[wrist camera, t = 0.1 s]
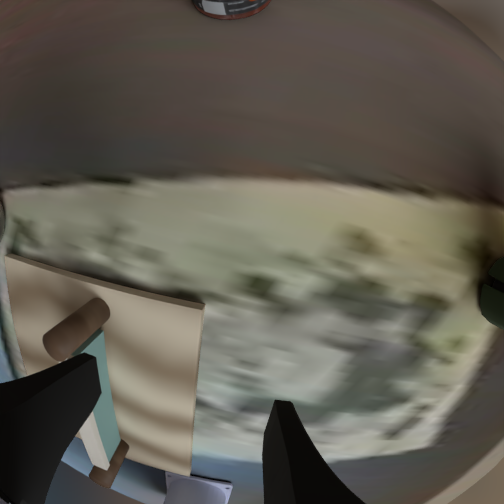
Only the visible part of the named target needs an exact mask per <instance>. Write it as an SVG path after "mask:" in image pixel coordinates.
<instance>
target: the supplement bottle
mask: <svg viewBox="0 0 504 504" xmlns="http://www.w3.org/2000/svg"><path fill="white" fill-rule="evenodd" d="M192 1H193V3H194V5H195V6H196V8H197V9H198V10H199V11H200V12H201V13H203V14H205V15H207V16H209V17H212V18H216V19H224V20H232V19H240V18H245V17H249V16H252V15H254V14H256V13H259V12H260V11H261V10H263V9H264V8H265V7H266V6H267V5H268V4H269V3H270V1H271V0H192Z"/></svg>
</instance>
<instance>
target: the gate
mask: <svg viewBox="0 0 504 504" xmlns="http://www.w3.org/2000/svg"><path fill="white" fill-rule="evenodd" d="M84 352H85V353H88V354H90V355H93V356H95V357H96V359H97V366H98V373H99V379H100V385H101V391H102V393H101V395H100V397H99V400H98V402H97V404H96V406H95V407H94V409H93V411H92V413H91V414H90V416H89V417H88V418H87V420H86V421H85V423H84V424H83V426H82V427H81V428H80V430H79V432H80V435H81V438H82V440H83V443H84V445H85V448H86V450H87V453H88V455H89V457H90V460H91V462H92V464H93V465H95V466H97V467H100V468H102V469H104V470H108V468H109V466H110V464H109V462H110V460H111V458H112V456H113V454H114V452H115V450H116V448H117V447H118V445H119V443H120V441H121V439H120V435H119V430H118V426H117V421H116V416H115V411H114V406H113V400H112V395H111V388H110V382H109V375H108V367H107V359H106V350H105V339H104V331H103V330H100V329H98V330H97V331H95V332H94V333H93V334H92V335H91V336H90V337H89V338H88V339H87V340H86V341H85V342H84V343H83V344H81V345H80V346H79V347H78V348H77V349H76V350H75V351H74V352H73V353H72V354H71V355H70V356H69V357H68V358H67V359H69V358H72V357H74V356H76V355H79V354H81V353H84ZM67 359H66V360H67ZM59 363H61V362H59Z"/></svg>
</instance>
